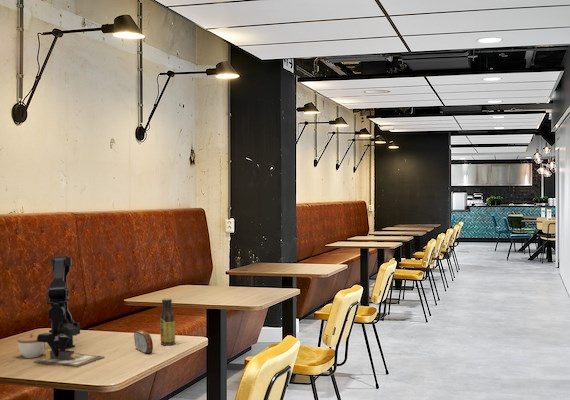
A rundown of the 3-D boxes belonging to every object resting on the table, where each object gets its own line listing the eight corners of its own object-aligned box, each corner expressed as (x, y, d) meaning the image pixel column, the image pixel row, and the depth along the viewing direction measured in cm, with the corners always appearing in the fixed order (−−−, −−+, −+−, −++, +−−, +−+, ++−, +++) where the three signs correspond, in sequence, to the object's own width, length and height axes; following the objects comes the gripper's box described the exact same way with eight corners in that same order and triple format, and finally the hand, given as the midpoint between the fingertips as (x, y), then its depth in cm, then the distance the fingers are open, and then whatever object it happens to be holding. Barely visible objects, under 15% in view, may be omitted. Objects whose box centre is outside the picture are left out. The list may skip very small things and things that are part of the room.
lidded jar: (51, 354, 309) (50, 331, 309) (34, 360, 299) (33, 336, 299) (29, 352, 312) (28, 330, 312) (12, 358, 302) (11, 335, 302)
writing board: (34, 362, 294) (34, 360, 294) (62, 353, 309) (62, 352, 309) (77, 367, 285) (77, 365, 285) (104, 357, 299) (104, 356, 299)
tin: (153, 354, 304) (153, 333, 304) (146, 355, 302) (145, 334, 302) (140, 348, 317) (139, 328, 316) (133, 349, 315) (132, 329, 315)
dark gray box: (45, 357, 299) (45, 350, 298) (51, 356, 301) (50, 348, 301) (72, 360, 292) (72, 352, 292) (78, 358, 295) (77, 351, 295)
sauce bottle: (161, 343, 325) (160, 297, 325) (175, 342, 326) (174, 297, 325) (160, 346, 318) (158, 300, 318) (174, 345, 319) (173, 299, 319)
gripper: (57, 322, 285) (58, 362, 285) (89, 313, 302) (91, 352, 302) (35, 320, 290) (36, 360, 290) (68, 312, 307) (69, 350, 307)
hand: (59, 355), depth 297 cm, fingers closed on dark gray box, 3 cm apart
